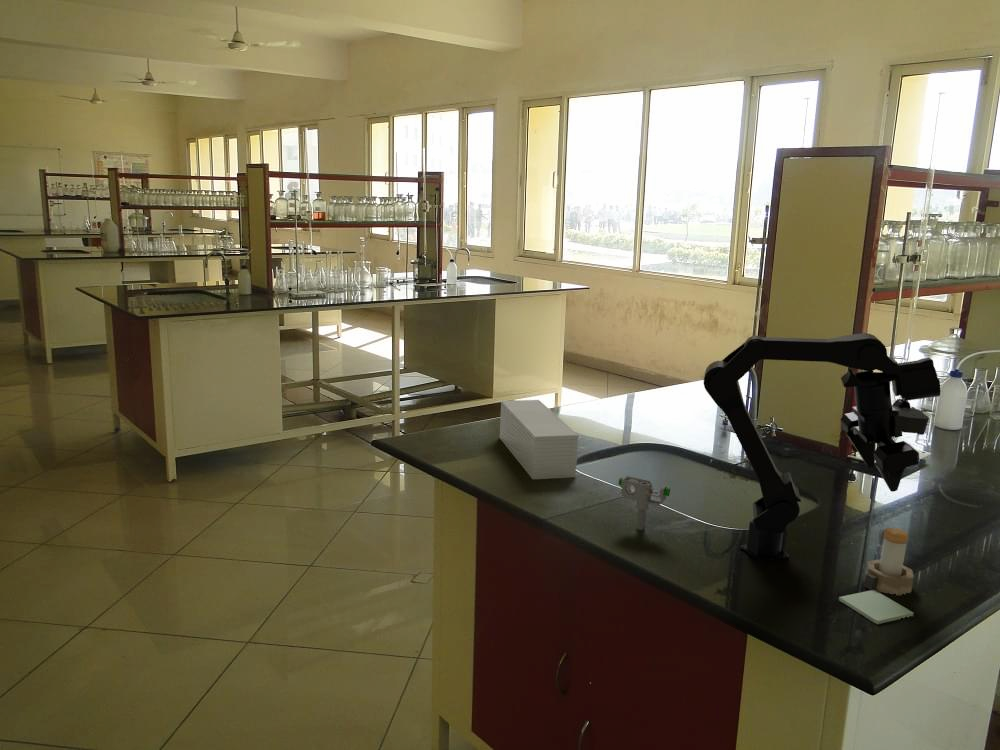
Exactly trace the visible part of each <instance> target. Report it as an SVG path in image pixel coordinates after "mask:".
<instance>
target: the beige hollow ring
mask: <svg viewBox="0 0 1000 750" xmlns="http://www.w3.org/2000/svg"><path fill="white" fill-rule="evenodd" d="M880 559H881V558H878V559H875V560H874V559H872V560H867V563H866V564H867V565H866V570H865V579H864V585H863V587H864V588H866V589H867V588H868V591H871V590H875V591H877V592H879V593H885V594H888V593H889V595H893V594H896V595H895V596H903V595H902V594H904V595H907V594H906V593H909V594H911V593H912V589H913V583H914V579H915V576H914V572H913V569H911V568H909V567H907V566H905V565H904V564H903V567H902V573H901V576H900V577H897V576H892V575H887V574H883V573H882V572H880V571H879V565H880ZM910 592H911V593H910Z"/></svg>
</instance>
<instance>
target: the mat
mask: <svg viewBox="0 0 1000 750" xmlns="http://www.w3.org/2000/svg"><path fill="white" fill-rule="evenodd" d="M838 601H839V602H841V603H842V604H844V605H845V606H847V607H849V608H850V609H852V610H854V611H855V612H857V613H858V614H860V615H862V616H864V618H866V619H868V620H869V621H871V622H872V623H874V624H876V625H881V624H884V623H889V622H892V621H898V620H901V618H903V619H906V618H905V617H907V618H911V617H914V612H913V611H911V610H909V609H908V608H906V607H904V606H903V605H901V604H899V603H898V602H896V601H894V600H893V599H891V598H889V597H887V596H886V595H884V594H882V592H879V591H878V590H866V591H861V592H857V593H852V594H847V595H843V596H838ZM910 616H911V617H910Z"/></svg>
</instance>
